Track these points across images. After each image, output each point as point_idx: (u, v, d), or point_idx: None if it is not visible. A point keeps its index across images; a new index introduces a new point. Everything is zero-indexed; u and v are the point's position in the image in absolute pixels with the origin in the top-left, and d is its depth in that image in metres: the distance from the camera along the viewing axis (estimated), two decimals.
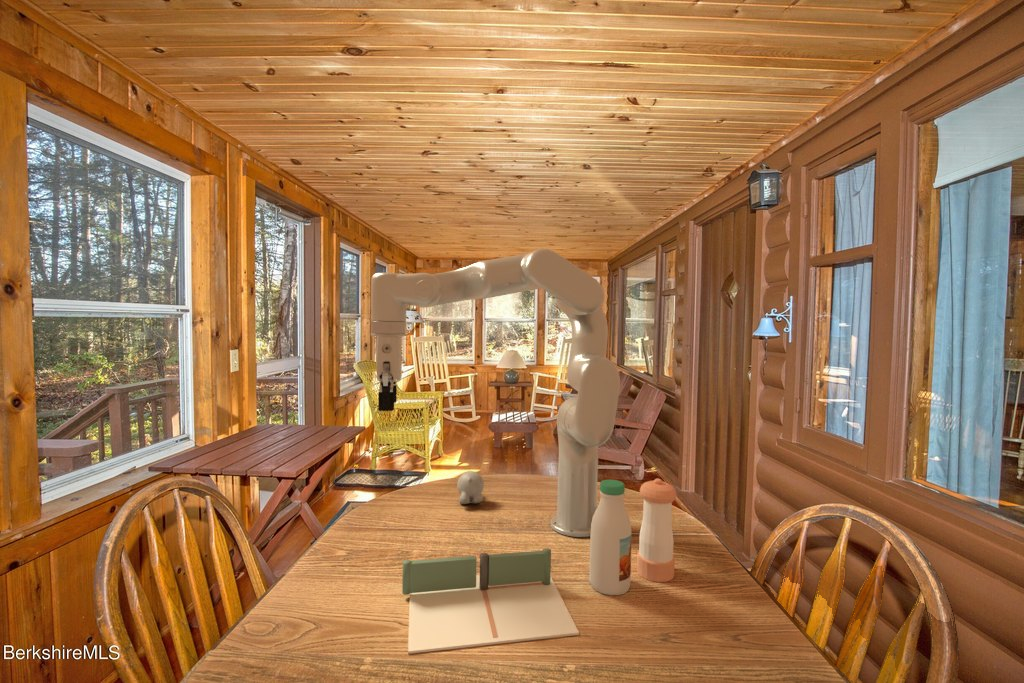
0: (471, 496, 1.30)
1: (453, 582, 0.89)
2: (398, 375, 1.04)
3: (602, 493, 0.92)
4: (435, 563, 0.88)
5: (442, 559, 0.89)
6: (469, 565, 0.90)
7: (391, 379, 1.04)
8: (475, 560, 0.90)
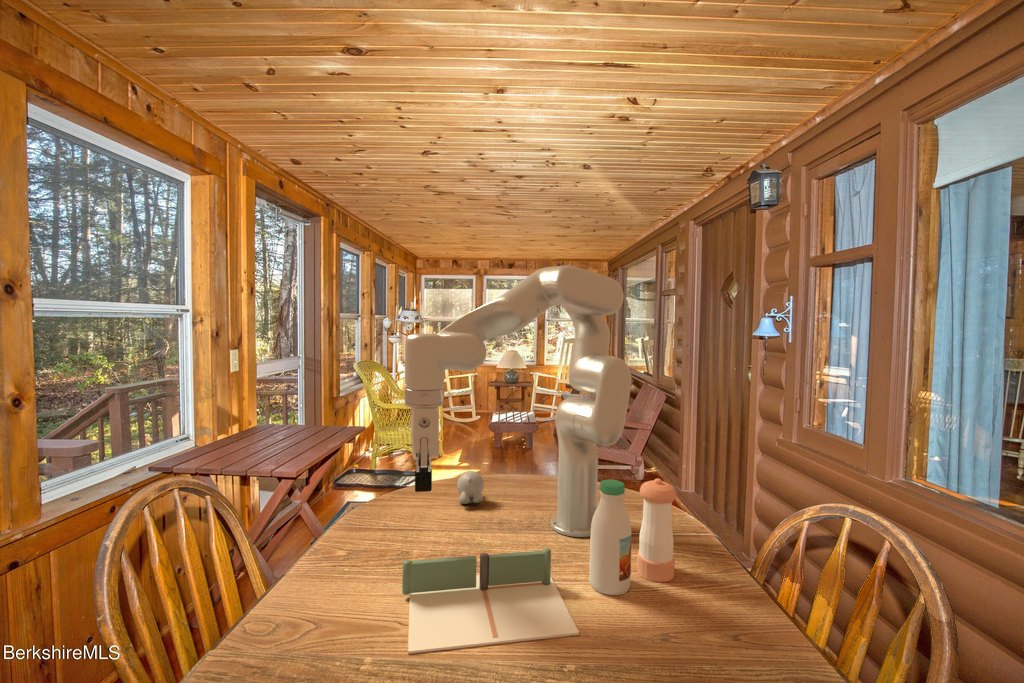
0: (471, 496, 1.30)
1: (453, 582, 0.89)
2: (437, 452, 0.91)
3: (602, 493, 0.92)
4: (435, 563, 0.88)
5: (442, 559, 0.89)
6: (469, 565, 0.90)
7: (429, 459, 0.93)
8: (475, 560, 0.90)
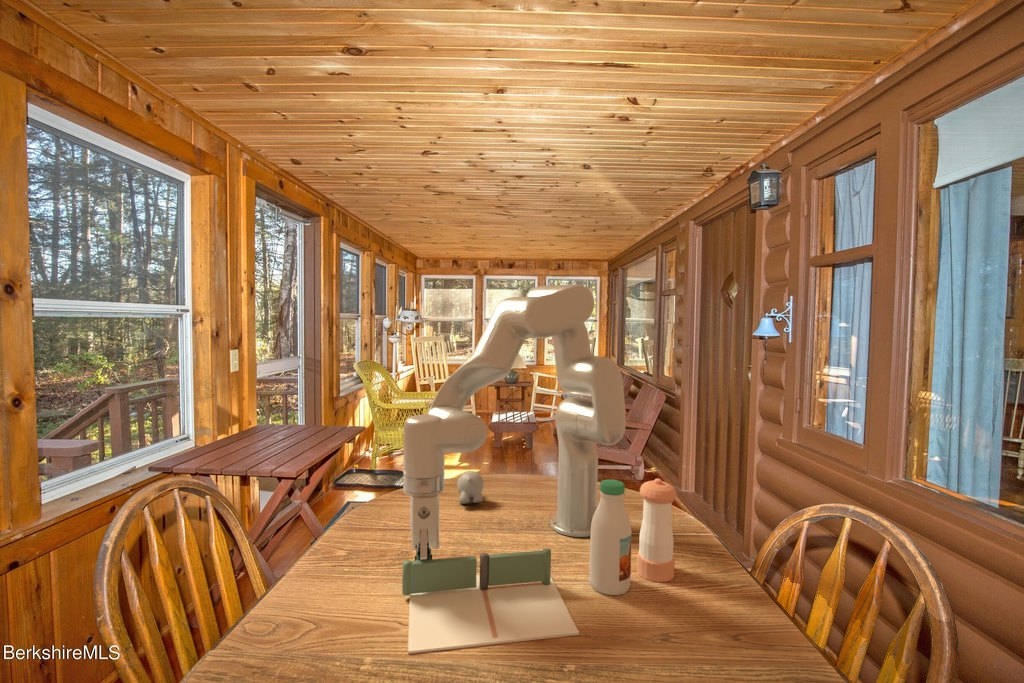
0: (471, 496, 1.30)
1: (453, 582, 0.89)
2: (437, 543, 0.87)
3: (602, 493, 0.92)
4: (435, 563, 0.88)
5: (442, 559, 0.89)
6: (469, 565, 0.90)
7: (429, 548, 0.90)
8: (475, 560, 0.90)
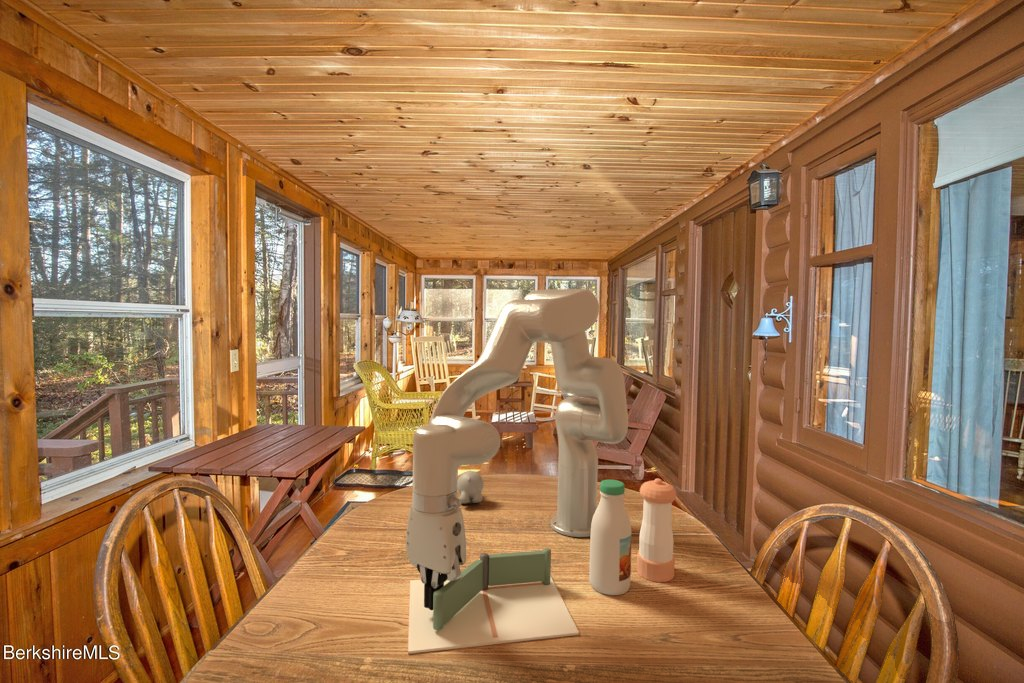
0: (471, 496, 1.30)
1: (469, 594, 0.86)
2: (465, 557, 0.82)
3: (602, 493, 0.92)
4: (459, 581, 0.83)
5: None
6: (478, 570, 0.88)
7: None
8: (482, 563, 0.89)
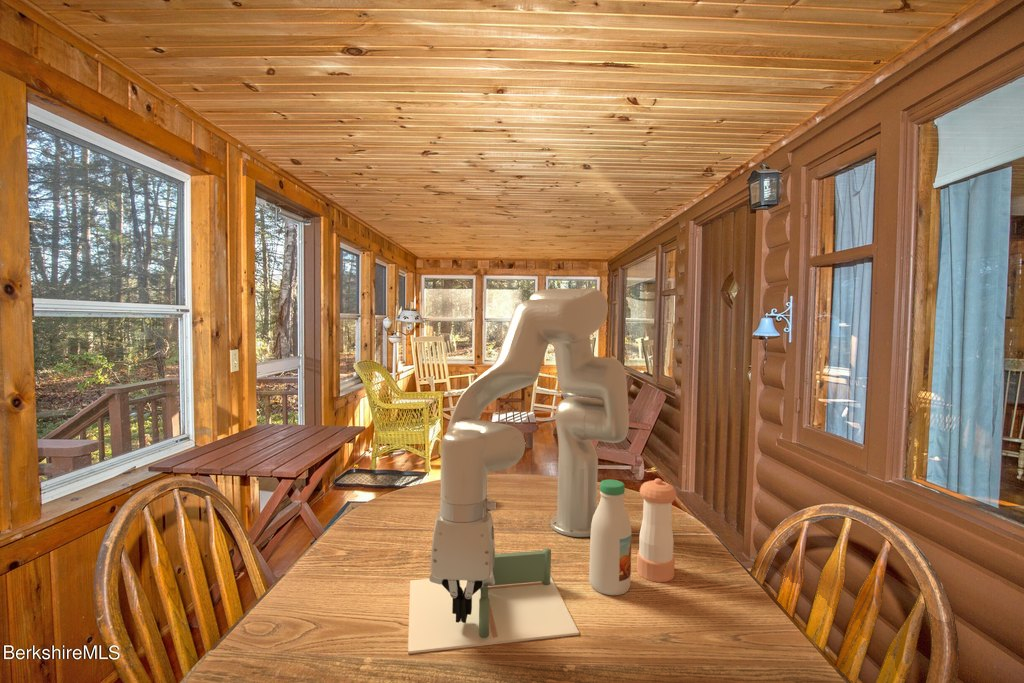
0: None
1: None
2: None
3: (602, 493, 0.92)
4: None
5: None
6: None
7: None
8: None
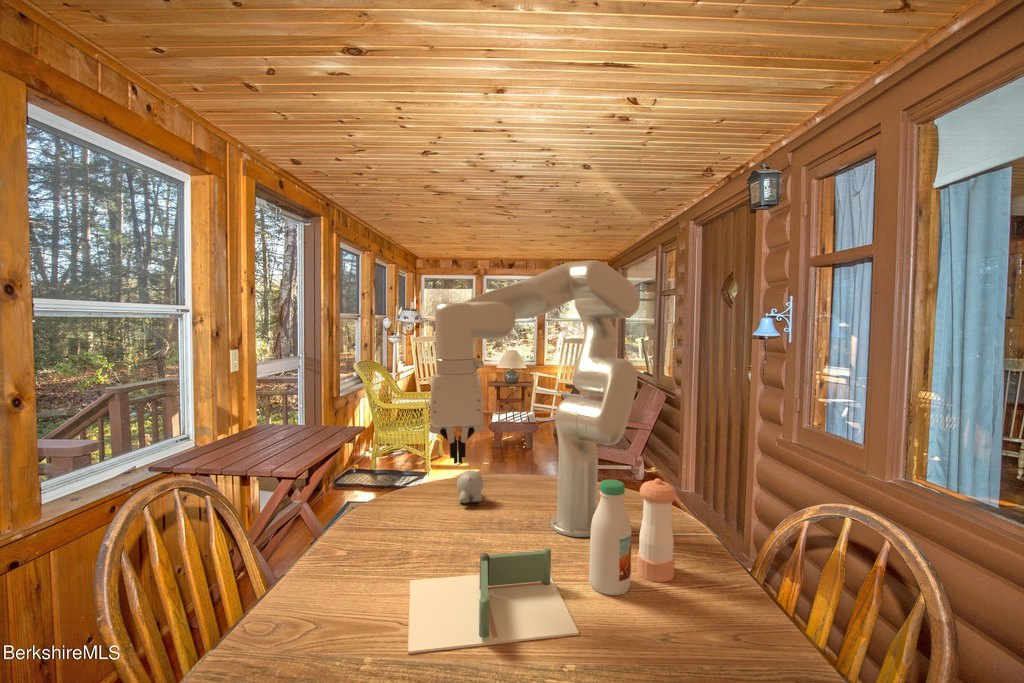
0: (471, 495, 1.31)
1: None
2: None
3: (602, 493, 0.92)
4: (487, 584, 0.82)
5: (483, 578, 0.83)
6: None
7: None
8: (487, 562, 0.89)
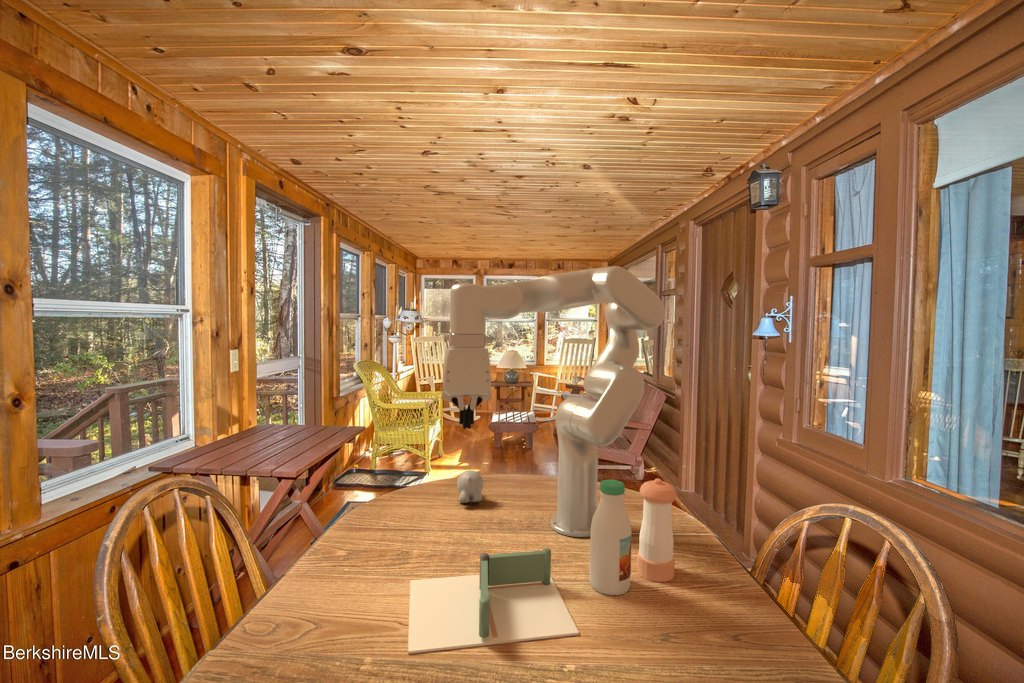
0: (471, 495, 1.31)
1: None
2: None
3: (602, 493, 0.92)
4: (487, 584, 0.82)
5: (483, 578, 0.83)
6: None
7: None
8: (487, 562, 0.89)
